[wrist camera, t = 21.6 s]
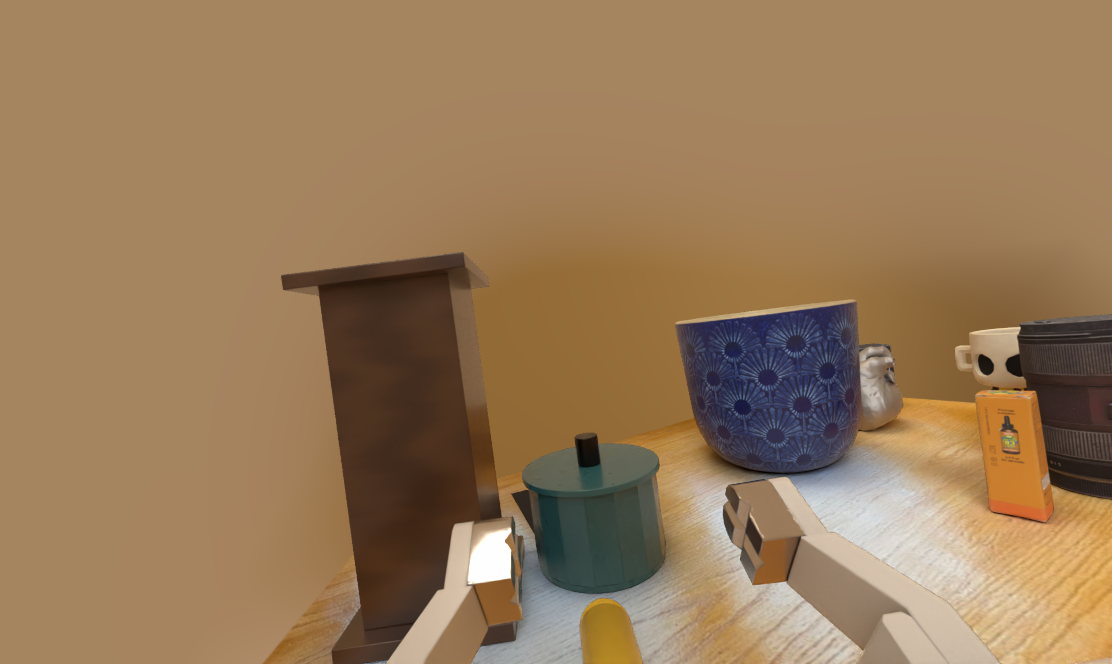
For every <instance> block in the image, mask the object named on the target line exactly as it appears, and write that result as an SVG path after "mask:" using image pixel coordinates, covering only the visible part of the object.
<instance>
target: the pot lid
mask: <svg viewBox="0 0 1112 664" xmlns="http://www.w3.org/2000/svg"><path fill="white" fill-rule="evenodd" d="M575 445H576V447H572V448H567V449H563V450H559V451H556V452H553V453H550V454H547V455H545V456H542V457H540V458H538V459H536V460H534V461H533V462H531V463H530V464H528V465H527V466H526V467H525V469H524V470H523V472H522V480H523V483H524V485H525V486H526V487H527V488H528V489H530V490H531V491H533V492H536V493H539V494H542V495H547V496H554V497H567V498H570V497H591V496H599V495H605V494H610V493H615V492H619V491H622V490H626V489H629V488H632V487H635V486H637V485H639V484H641V483H644V482H645V481H647V480H649V479H650V478H651V477H653V476H654V475H655V474H656V473H657V471H658V469H659V466H660V464H659V458H658V456H657V455H656V454H655V453H654V452H653V451H651V450H649V449H646V448H643V447H640V446H635V445H628V444H598V438H597V434H595V433H583V434H579V435H577V436H575Z"/></svg>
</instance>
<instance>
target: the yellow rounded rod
mask: <svg viewBox="0 0 1112 664" xmlns="http://www.w3.org/2000/svg"><path fill="white" fill-rule="evenodd" d="M580 637H581V646H582V655H583V663H584V664H643V661H642V658H641V655H640V651H639V648H638V644H637V641H636V638H635V634H634V631H633V628H632V624H631V621H630V618H629V616H628V614H627V612H626V611H625V609H624V608H623V607H622V606H621V605H620V604H619V603H618V602H616V601H614V600H611V599H608V598H600V599H597V600H595V601H593V602H591V603H590V604H589V605H588V606H587V607H586V608H585V610H584V612H583V614H582V617H581V620H580Z"/></svg>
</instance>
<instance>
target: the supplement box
mask: <svg viewBox="0 0 1112 664" xmlns="http://www.w3.org/2000/svg"><path fill="white" fill-rule="evenodd" d="M975 402H976V408H977V415H978V422H979V429H980V437H981V444H982V451H983V459H984V467H985V474H986V482H987V490H988V499H989V507H990V510H991V511H993V512H998V513H1003V514H1009V515H1014V516H1019V517H1024V518H1029V519H1033V520H1037V521H1041V522H1047V520H1048V519H1049V517H1050V516H1051V514H1052V512H1053V509H1054V507H1053V499H1052V491H1051V485H1050V478H1049V471H1048V464H1047V458H1046V450H1045V444H1044V437H1043V431H1042V424H1041V417H1040V411H1039V405H1038V399H1037V394H1036V391H1007V390H984V391H981V392H979V393H977V394H976V396H975Z"/></svg>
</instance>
